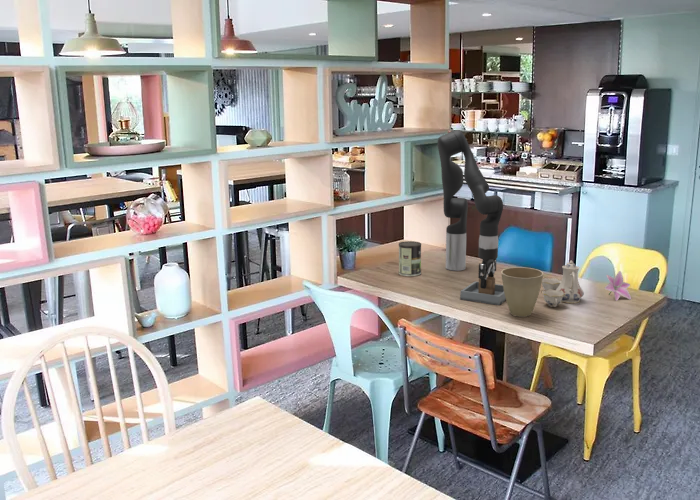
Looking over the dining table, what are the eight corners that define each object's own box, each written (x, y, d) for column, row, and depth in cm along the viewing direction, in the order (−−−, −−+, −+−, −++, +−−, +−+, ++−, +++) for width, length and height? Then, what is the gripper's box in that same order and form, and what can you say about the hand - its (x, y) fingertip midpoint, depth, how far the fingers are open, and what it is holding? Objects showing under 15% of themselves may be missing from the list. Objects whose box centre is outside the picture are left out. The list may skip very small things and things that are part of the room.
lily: (597, 302, 260) (609, 284, 255) (594, 283, 270) (605, 266, 264) (626, 311, 261) (639, 294, 255) (622, 292, 270) (634, 275, 264)
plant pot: (503, 305, 254) (505, 265, 251) (543, 310, 249) (545, 269, 245) (496, 317, 241) (497, 275, 237) (538, 322, 235) (540, 279, 232)
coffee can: (420, 270, 307) (420, 240, 304) (421, 276, 297) (422, 245, 294) (397, 270, 307) (397, 241, 304) (399, 276, 297) (399, 246, 294)
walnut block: (482, 292, 269) (483, 276, 267) (494, 294, 266) (495, 277, 264) (478, 295, 264) (478, 278, 263) (490, 297, 262) (490, 280, 260)
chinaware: (536, 292, 276) (533, 254, 273) (577, 290, 273) (575, 251, 270) (544, 314, 249) (542, 271, 246) (590, 311, 246) (589, 268, 243)
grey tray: (474, 289, 276) (474, 281, 275) (512, 294, 268) (512, 286, 267) (460, 299, 263) (460, 290, 262) (499, 305, 255) (499, 296, 254)
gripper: (485, 241, 269) (484, 280, 272) (472, 248, 257) (471, 288, 260) (503, 243, 265) (501, 282, 268) (491, 250, 253) (490, 291, 257)
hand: (487, 285), depth 264 cm, fingers open, 8 cm apart
